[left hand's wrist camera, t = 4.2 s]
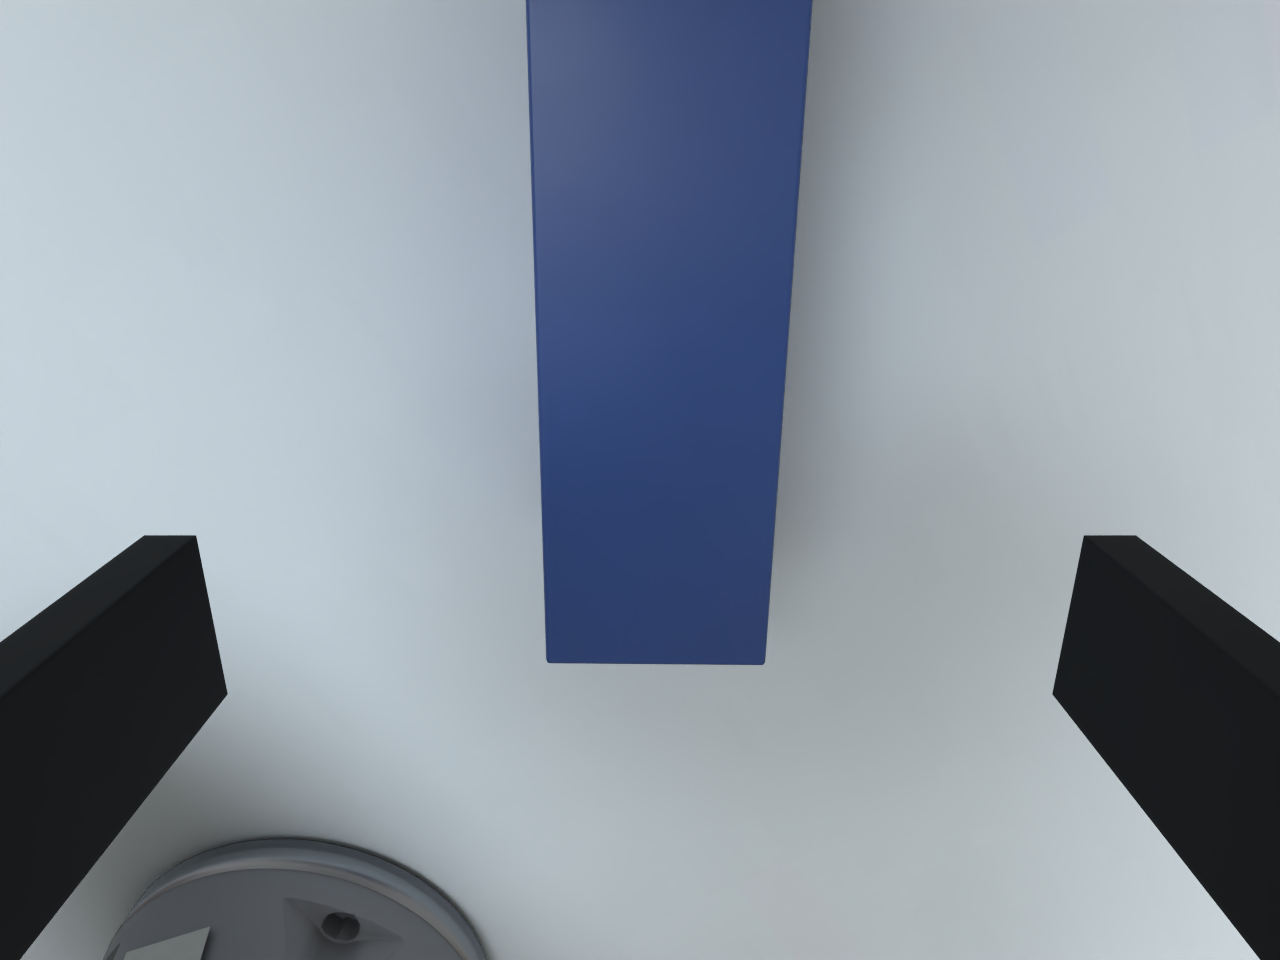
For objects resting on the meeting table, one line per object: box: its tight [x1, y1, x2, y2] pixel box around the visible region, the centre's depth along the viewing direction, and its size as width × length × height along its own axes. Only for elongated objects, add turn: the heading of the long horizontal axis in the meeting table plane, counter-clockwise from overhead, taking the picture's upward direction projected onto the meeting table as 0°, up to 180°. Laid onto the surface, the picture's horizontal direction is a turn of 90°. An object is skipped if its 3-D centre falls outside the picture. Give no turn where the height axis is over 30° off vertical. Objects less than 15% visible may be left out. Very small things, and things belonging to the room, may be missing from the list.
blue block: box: [526, 0, 813, 665], centre depth 22 cm, size 17×5×8 cm, turn 179°
